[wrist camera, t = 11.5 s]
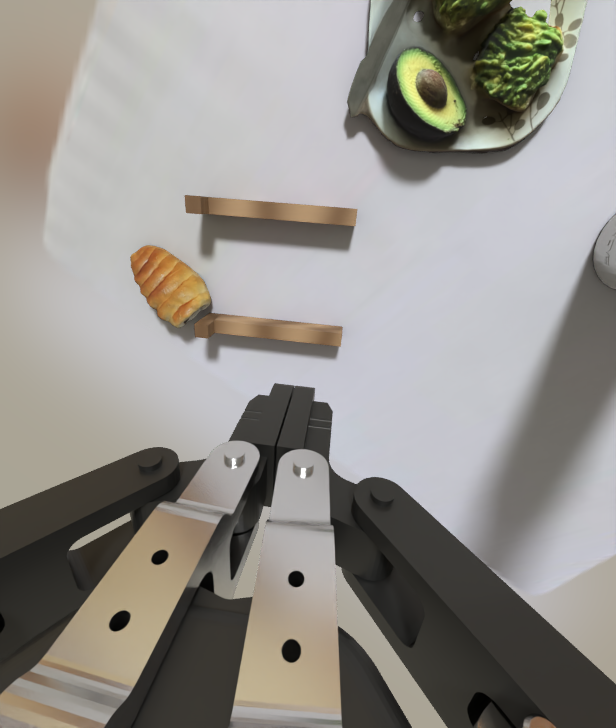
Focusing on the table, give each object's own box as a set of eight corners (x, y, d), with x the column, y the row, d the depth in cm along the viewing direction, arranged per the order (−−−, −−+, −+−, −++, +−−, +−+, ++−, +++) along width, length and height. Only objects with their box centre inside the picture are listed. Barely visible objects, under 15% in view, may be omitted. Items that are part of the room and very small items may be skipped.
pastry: (126, 268, 39) (105, 274, 36) (161, 229, 37) (142, 230, 34) (184, 328, 42) (170, 339, 38) (221, 295, 39) (209, 302, 36)
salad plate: (364, -162, 24) (368, -240, 20) (631, -179, 23) (695, -267, 18) (344, 152, 32) (343, 143, 28) (539, 156, 31) (569, 147, 26)
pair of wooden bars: (356, 209, 34) (357, 208, 30) (340, 338, 40) (340, 353, 36) (203, 197, 35) (184, 195, 31) (210, 324, 41) (195, 337, 37)
